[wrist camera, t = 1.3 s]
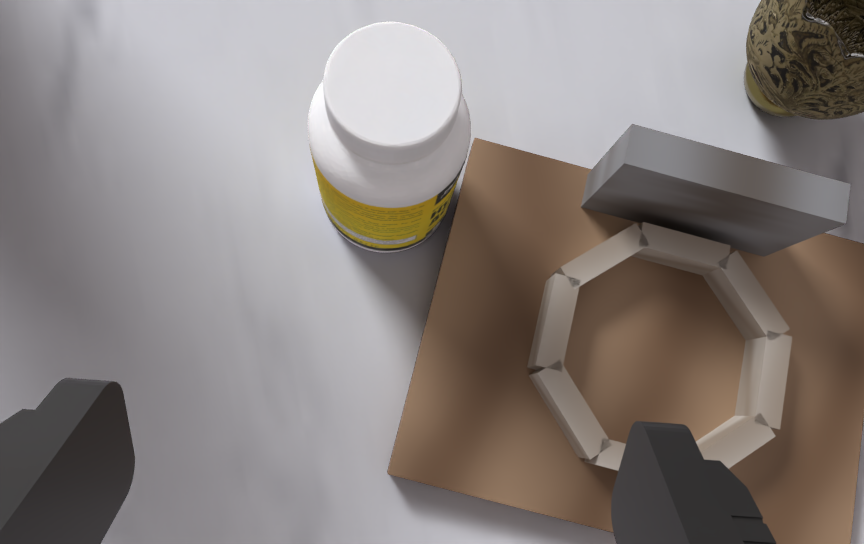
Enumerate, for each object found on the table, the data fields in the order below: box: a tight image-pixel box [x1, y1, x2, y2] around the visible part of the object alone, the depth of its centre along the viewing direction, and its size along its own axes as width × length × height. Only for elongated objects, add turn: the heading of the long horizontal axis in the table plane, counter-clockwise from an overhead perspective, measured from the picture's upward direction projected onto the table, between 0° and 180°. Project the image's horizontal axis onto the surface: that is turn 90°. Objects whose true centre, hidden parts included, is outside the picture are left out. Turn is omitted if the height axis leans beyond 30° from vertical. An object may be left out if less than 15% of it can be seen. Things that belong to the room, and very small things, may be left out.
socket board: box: [387, 124, 864, 544], centre depth 25 cm, size 18×14×6 cm
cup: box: [744, 0, 864, 119], centre depth 27 cm, size 8×7×8 cm
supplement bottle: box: [308, 22, 471, 253], centre depth 24 cm, size 5×5×10 cm
